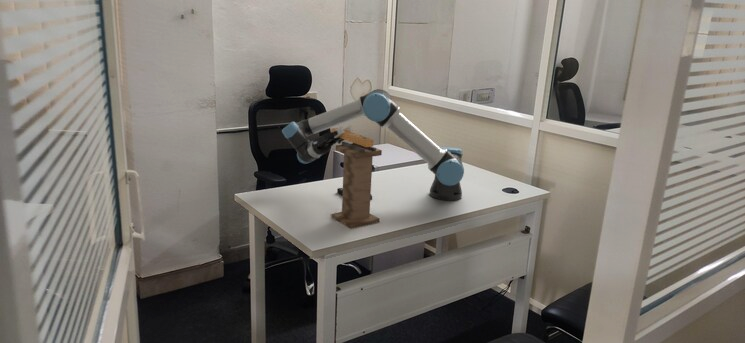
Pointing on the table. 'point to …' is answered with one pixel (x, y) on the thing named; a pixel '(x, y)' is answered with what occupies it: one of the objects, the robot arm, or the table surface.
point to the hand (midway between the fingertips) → (346, 129)
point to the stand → (356, 185)
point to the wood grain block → (355, 138)
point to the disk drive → (340, 191)
